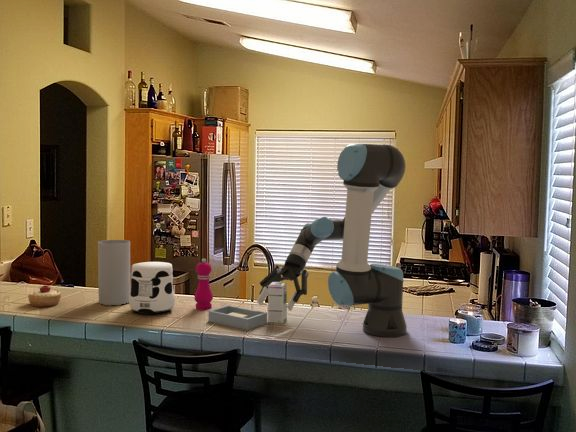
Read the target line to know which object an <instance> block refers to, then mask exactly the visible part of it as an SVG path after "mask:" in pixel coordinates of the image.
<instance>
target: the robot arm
mask: <svg viewBox="0 0 576 432" xmlns="http://www.w3.org/2000/svg"><path fill="white" fill-rule="evenodd" d="M336 164H337V165H336V166H337V167H336V170H337V171H338V172H337V174H338V177H339V178H340V179H341V180H343V181H342V182H343V186H344V187H345V189H346V202H345V214H344V217H343V218H342V219H331V218H329V217H326V216H320V217H318V218H316V219H315V220H313V221H312V222H310V223H309V222H308V223H307V222H306V224H304V225H303V227H302V228H301V230H300V232H299V234H298V236H297V239H296V240H295V241H294V244H293V246H292V248H291V250H290V251H289V254H288V256H287V257H286V259H285V261H284V265H283V266H282V267H280V266H278V265H275V266H274V267H273V270H271V272H270V273H268V275H266V276H265V277H264V278H263V279H262V280H261V281H259V285H260V287H261V289H260V291H259V296H258V298H257V300H256V302H257V303H258V304H259V306H262V305H263V304H264V302H265V299H266V297H267V296H268V285H270V284H271V283H272V282H283V281H284V280H285V281H290V282H292V281H293V283H294V288H295V290H294V291H293V292H292V294H291V297H290V299H289V301H288V302H287V310H288V311H290V312H292V310H293V308H294V306H295V304H296V303H298V302H299V300H300V298H301V296H302V295H304V296H306V295H307V294H308V277H309V273H308V271H307V269H305V268H306V265H307V263H308V261H309V259H310V257H311V256H312V253H313V251H314V249H315V247H316V245H318V244H320V243H322V241H323V242H324V241H333V240H334V241H335V240H342V250H341V259H340V260H339V261H338V262H337V263H336V267H335V268H336V269H335V270H334V271H331V273H330V274H329V275H328V278H327V285H328V291H329V294H330V296H331V299H332V300H333V302H334V303H335V304H336V305H338V306H341V307H352V306H358V305H359V306H360V305H368V308H367V311H366V314H365V317H364V320H363V322H362V331H363V332H364V333H365V334H368V335H372V336H376V337H381V338H382V337H383V338H394V337H395V338H396V337H402V336H405V335H406V334H407V332H408V331H407V329H408V327H407V322H406V319H405V315H404V312H403V297H404V296H403V293H404V291H403V290H404V271H403V270H402V269H401V268H399V267H397V266H393V265H387V264H382V263H371V264H369V262H368V257H369V246H370V235H371V225H372V224H371V223H372V215H373V213H374V212H375V210H376V209H377V208H378V206H379V205H380V204H381V203H382V202H383V200H384V199H385V197H386V196H387V194H388V193H389V192H390V191H391V189H395V188H396V187H398V185H399V184H400V182H401V181H402V180H403V178H404V175H405V173H406V160H405V157H404V155H403V153H402V152H401V151H400V149H398V148H397V147H395V146H393V145H390V144H385V143H384V144H375V143H373V144H371V143H351V144H348V145H346V146H345V147H344V148H343V149H342V150H341V152H340V154H339V155H338V160H337V163H336ZM299 277H301V280H300V281H301V283H299V279H298V278H299ZM300 284H301V286H300Z"/></svg>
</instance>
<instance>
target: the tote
mask: <svg viewBox="0 0 576 432" xmlns="http://www.w3.org/2000/svg"><path fill="white" fill-rule="evenodd" d="M232 312H233V313H238V314H243V315H248V318H243V317H239V316H234V315H229V313H232ZM208 322H211V323H214V324H218V325H222V326H223V325H224V326H227V327H228V326H229V327H232V328H238V329H242V330H246V331H249V330H252V329H255V328H257V327H260V326H263V325H265V324H268V312H265V311H261V310H260V311H259V310H255V309H249V308H244V307H239V306H234V305H229V304H227V305H225V306H222V307H217V308H213V309H209V310H208Z"/></svg>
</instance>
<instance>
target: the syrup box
mask: <svg viewBox="0 0 576 432" xmlns="http://www.w3.org/2000/svg"><path fill="white" fill-rule="evenodd" d="M267 286H268V294H267V296H268V297H267V298H268V299H267V303H268V304H267V305H268V306H267V307H268V309H267V311H268V312H267V323H277V324H285V322H286V321H287V319H288V316H287V314H288V313H287V312H288V311H287V310H288V308H287V305H288V302H287V301H288V299H287V298H288V297H287V295H288V291H287V287H288V285H287V282H283V281H280V282H272V283H271V284H270V285H267Z"/></svg>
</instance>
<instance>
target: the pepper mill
mask: <svg viewBox="0 0 576 432" xmlns="http://www.w3.org/2000/svg"><path fill="white" fill-rule="evenodd" d="M195 270H196V273H197V279H198V286H197V289H196V290H195V293H194V301H195V302H196V303H195V309H196V311H197V310H198V311H209V310H212V301H213V299H214V296H213V292H212V290H211V287H210V279H211V274H210V273H211V272H212V266H211V264H210V263H209V262H207V259H206V258H202V259H201V262H199V263H198V264H197V265H196V268H195Z"/></svg>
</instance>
